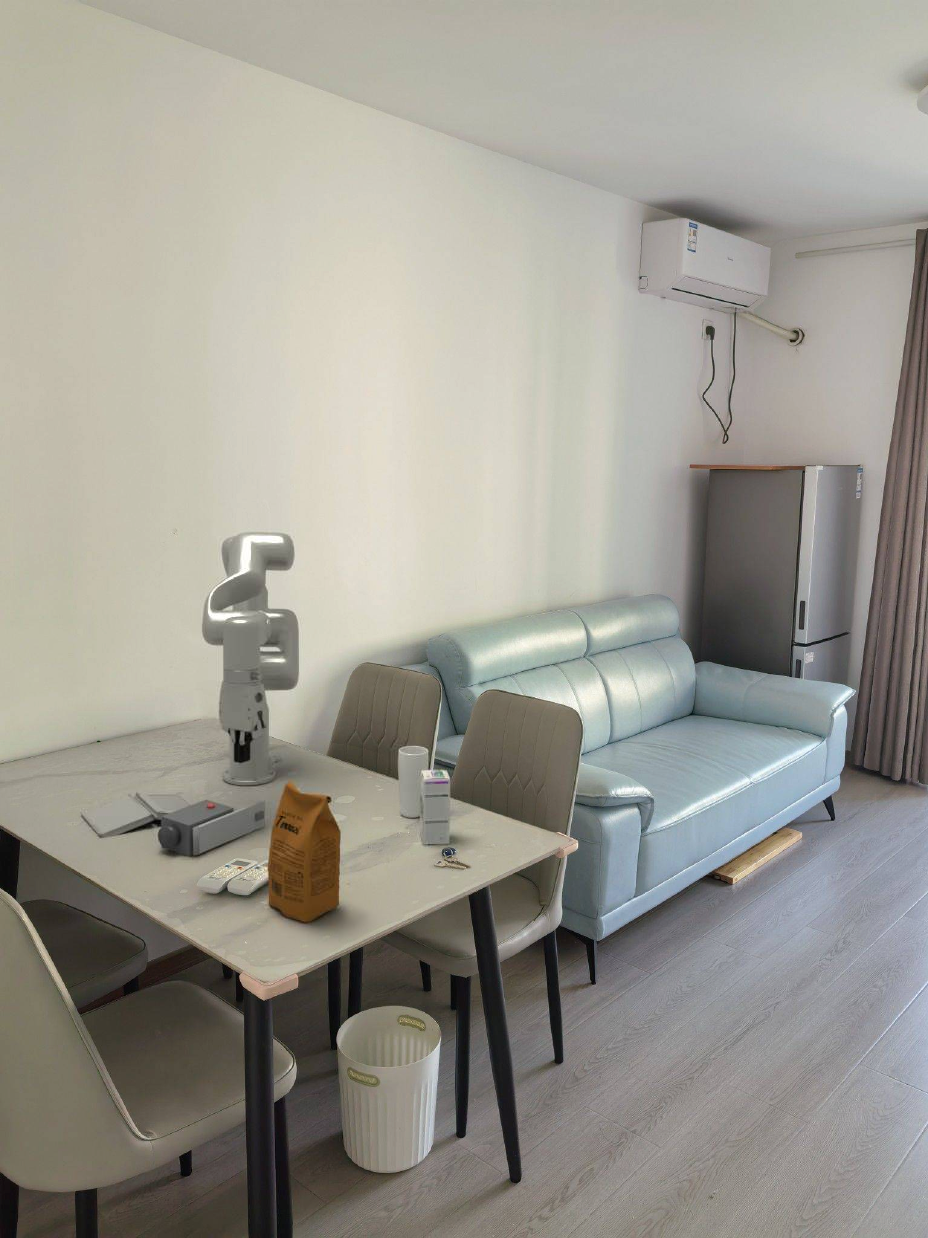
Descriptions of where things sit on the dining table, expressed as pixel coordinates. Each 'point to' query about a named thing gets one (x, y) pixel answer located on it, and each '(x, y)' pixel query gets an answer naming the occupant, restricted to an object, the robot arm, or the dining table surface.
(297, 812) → the coffee package
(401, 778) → the drinking glass
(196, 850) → the side door
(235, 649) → the robot arm
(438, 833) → the syrup box
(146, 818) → the gadget
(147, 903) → the dining table surface
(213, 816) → the gray box with knob
